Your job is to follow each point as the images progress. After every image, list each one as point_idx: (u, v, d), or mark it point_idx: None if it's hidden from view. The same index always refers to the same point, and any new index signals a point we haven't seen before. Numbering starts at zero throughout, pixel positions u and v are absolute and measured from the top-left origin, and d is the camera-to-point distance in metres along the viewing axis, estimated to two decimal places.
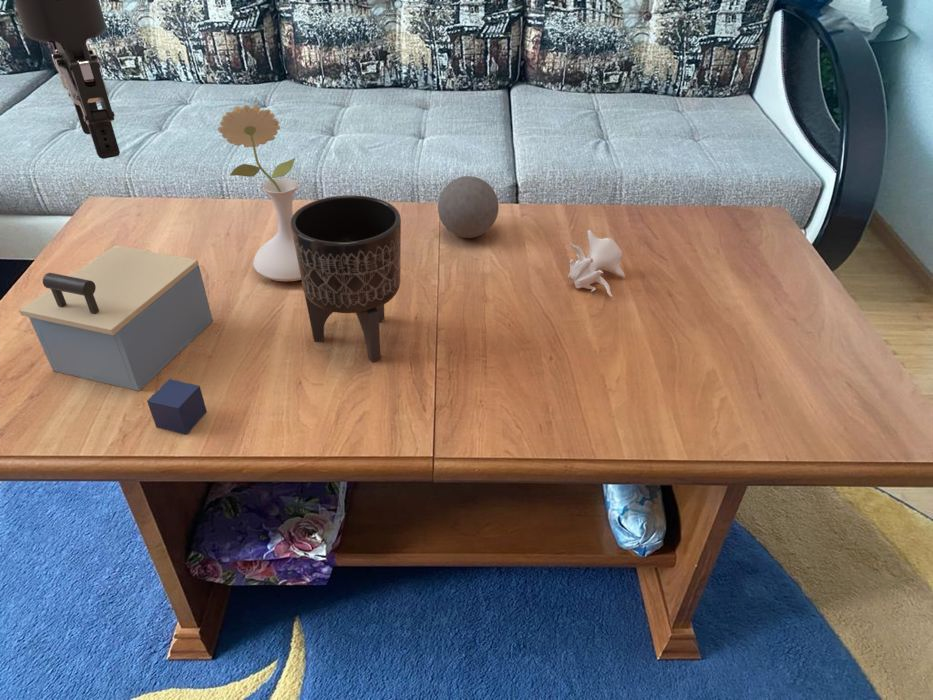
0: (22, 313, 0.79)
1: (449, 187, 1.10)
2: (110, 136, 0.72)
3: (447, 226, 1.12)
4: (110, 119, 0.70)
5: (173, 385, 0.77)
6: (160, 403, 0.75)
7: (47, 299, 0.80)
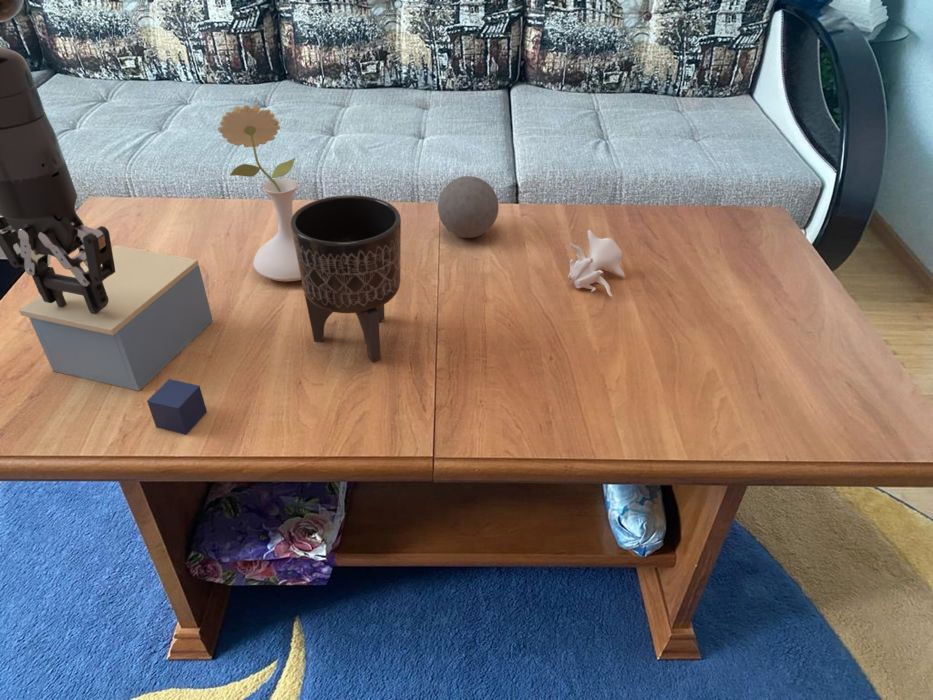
0: (22, 313, 0.79)
1: (449, 187, 1.10)
2: (103, 289, 0.77)
3: (447, 226, 1.12)
4: (111, 274, 0.75)
5: (173, 385, 0.77)
6: (160, 403, 0.75)
7: None
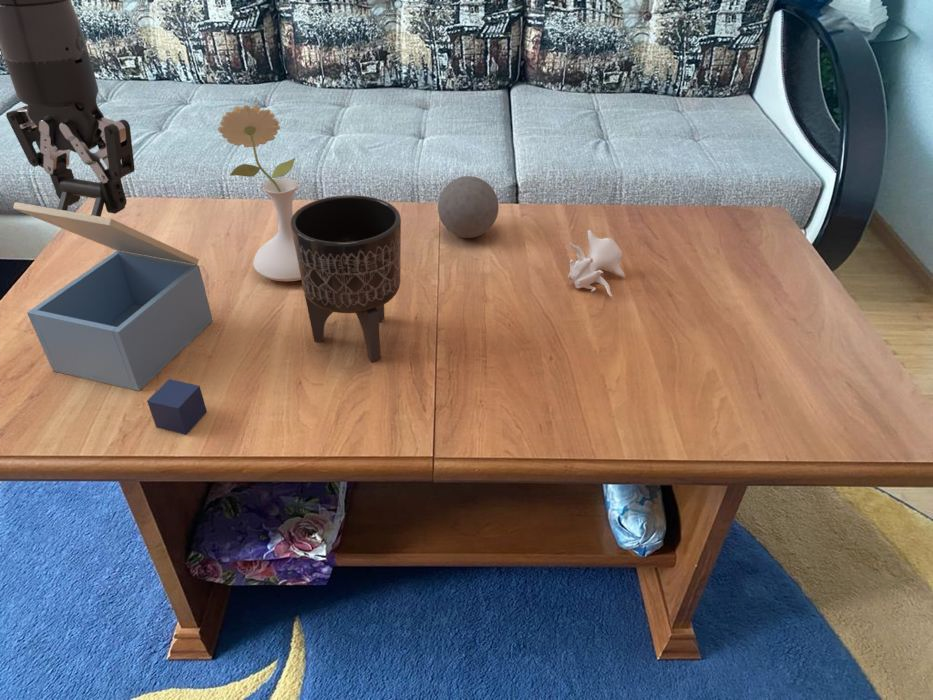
0: (16, 205, 0.75)
1: (449, 187, 1.10)
2: (122, 189, 0.76)
3: (447, 226, 1.12)
4: (131, 172, 0.75)
5: (173, 385, 0.77)
6: (160, 403, 0.75)
7: None
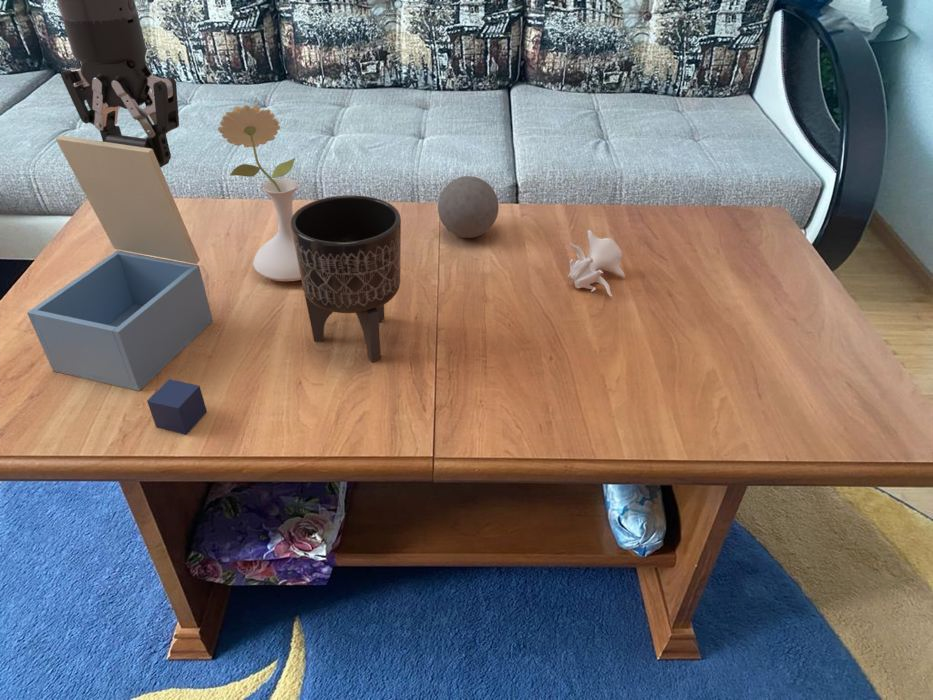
0: (59, 137, 0.79)
1: (449, 187, 1.10)
2: (167, 144, 0.82)
3: (447, 226, 1.12)
4: (176, 127, 0.81)
5: (173, 385, 0.77)
6: (160, 403, 0.75)
7: None
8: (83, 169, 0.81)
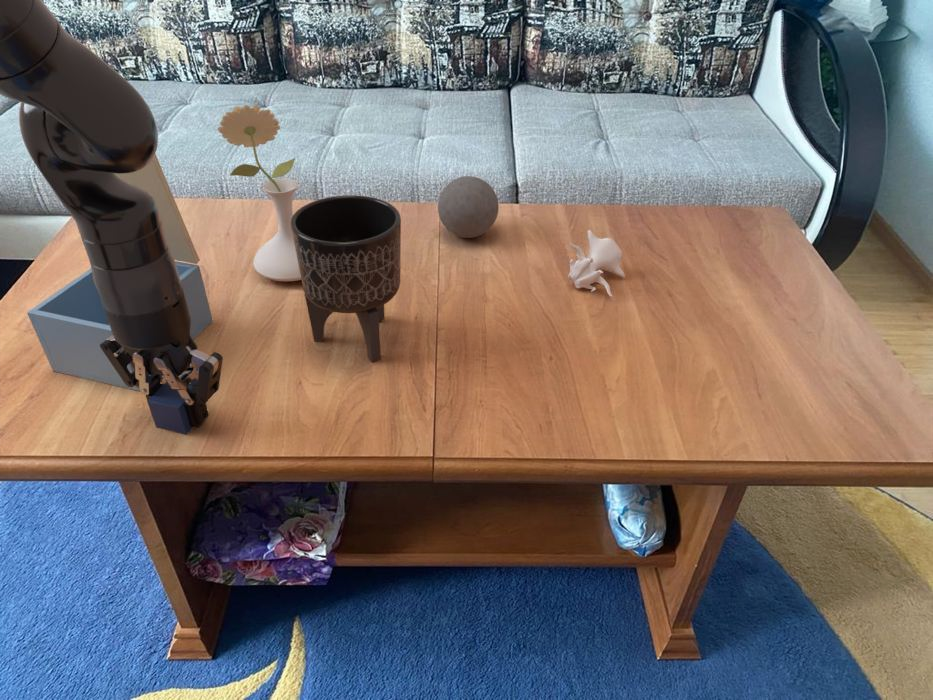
0: None
1: (449, 187, 1.10)
2: (205, 405, 0.77)
3: (447, 226, 1.12)
4: (214, 392, 0.75)
5: None
6: (160, 403, 0.75)
7: None
8: None
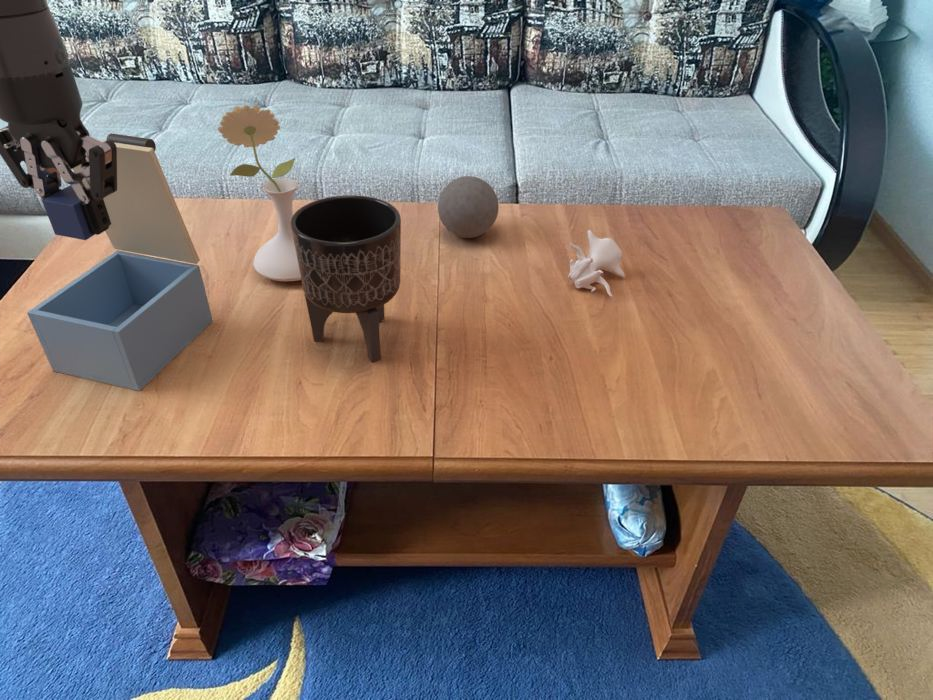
0: None
1: (449, 187, 1.10)
2: (105, 209, 0.73)
3: (447, 226, 1.12)
4: (113, 192, 0.71)
5: (72, 189, 0.73)
6: (55, 202, 0.71)
7: None
8: None
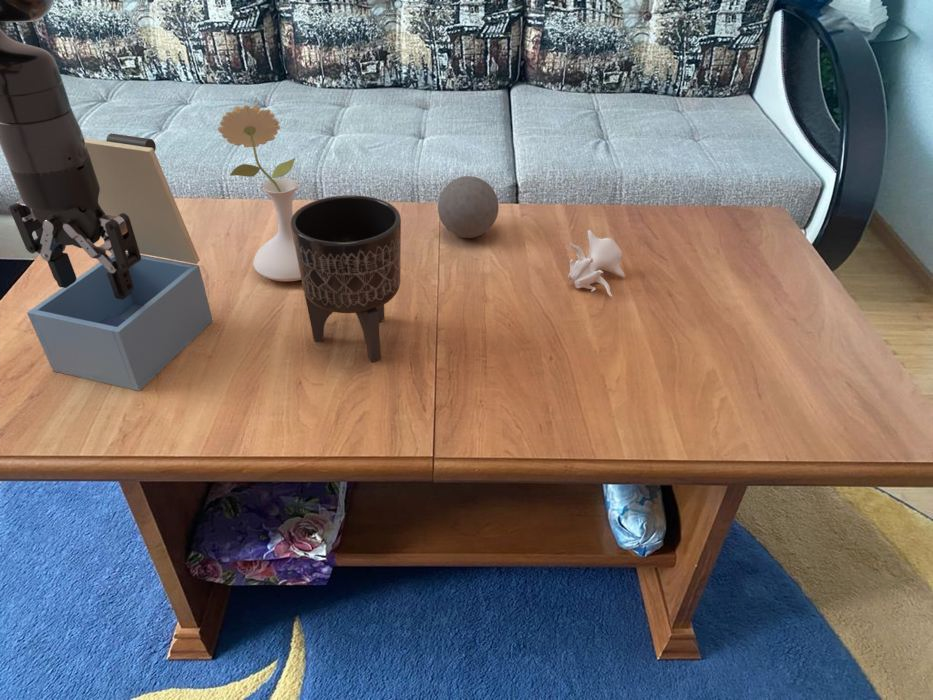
0: None
1: (449, 187, 1.10)
2: (129, 277, 0.79)
3: (447, 226, 1.12)
4: (138, 261, 0.78)
5: (110, 321, 0.85)
6: None
7: None
8: None
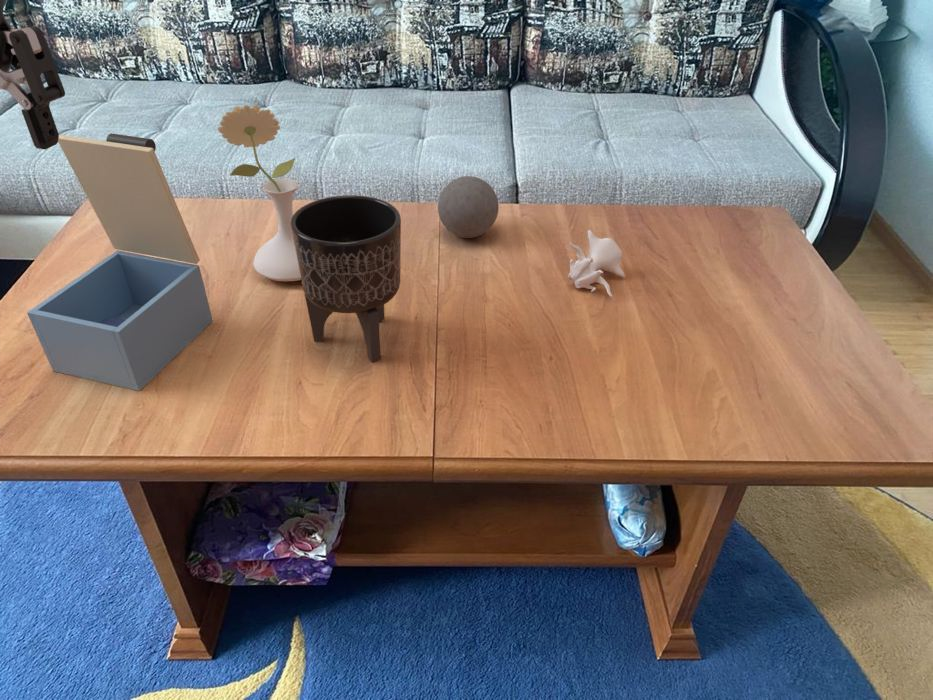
0: (60, 136, 0.79)
1: (449, 187, 1.10)
2: (52, 119, 0.63)
3: (447, 226, 1.12)
4: (61, 96, 0.62)
5: (110, 321, 0.85)
6: None
7: None
8: (84, 168, 0.81)
